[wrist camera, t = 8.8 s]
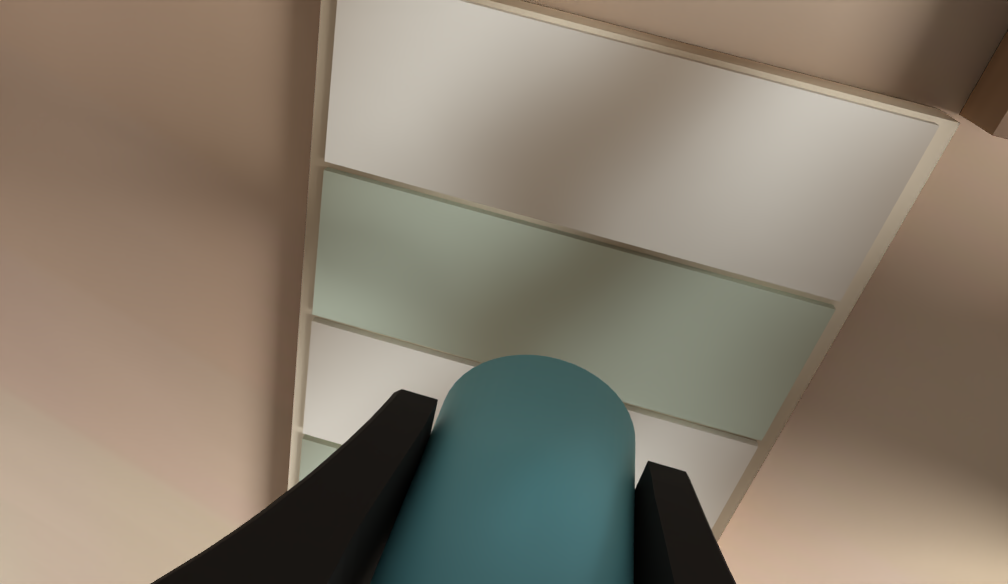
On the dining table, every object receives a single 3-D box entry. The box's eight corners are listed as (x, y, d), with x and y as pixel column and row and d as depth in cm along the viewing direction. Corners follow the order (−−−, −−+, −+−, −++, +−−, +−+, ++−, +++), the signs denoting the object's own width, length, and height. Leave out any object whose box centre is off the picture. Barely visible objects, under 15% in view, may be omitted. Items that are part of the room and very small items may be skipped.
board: (1572, -841, 7) (1752, -984, 6) (652, 681, 23) (653, 723, 22) (345, -1083, 8) (292, -1264, 7) (265, 566, 24) (246, 601, 23)
